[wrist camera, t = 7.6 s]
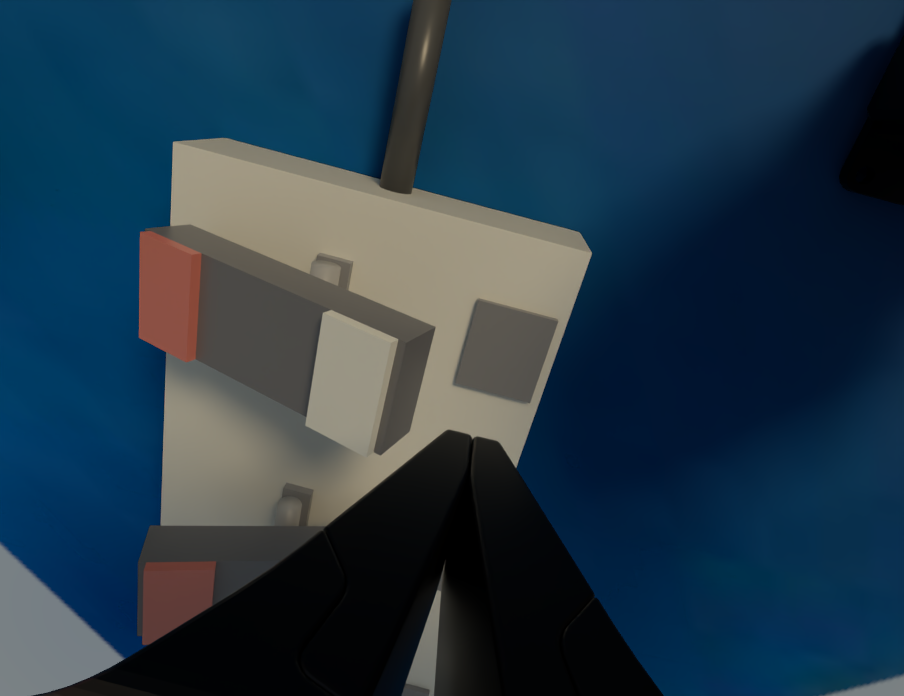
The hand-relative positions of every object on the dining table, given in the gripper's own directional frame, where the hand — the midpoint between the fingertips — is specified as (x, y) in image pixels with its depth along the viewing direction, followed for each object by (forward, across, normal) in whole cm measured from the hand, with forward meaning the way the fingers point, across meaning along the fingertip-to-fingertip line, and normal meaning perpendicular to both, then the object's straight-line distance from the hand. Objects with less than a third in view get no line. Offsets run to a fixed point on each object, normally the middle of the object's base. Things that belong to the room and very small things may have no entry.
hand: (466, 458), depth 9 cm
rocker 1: (+7, +5, +1) cm, 9 cm away
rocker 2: (+7, +5, +10) cm, 13 cm away
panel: (+11, +4, +7) cm, 14 cm away
